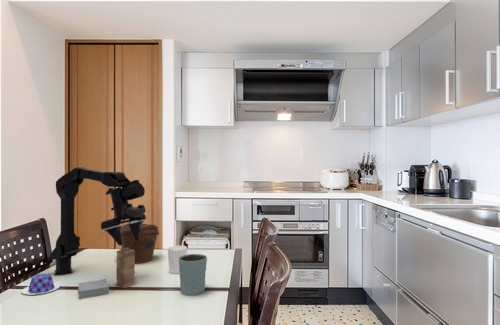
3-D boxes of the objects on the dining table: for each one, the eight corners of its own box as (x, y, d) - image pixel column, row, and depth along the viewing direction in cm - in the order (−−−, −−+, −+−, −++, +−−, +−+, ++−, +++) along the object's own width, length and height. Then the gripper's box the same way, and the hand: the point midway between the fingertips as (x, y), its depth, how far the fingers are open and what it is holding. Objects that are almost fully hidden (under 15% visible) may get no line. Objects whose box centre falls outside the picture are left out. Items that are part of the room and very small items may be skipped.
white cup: (182, 274, 134) (182, 250, 135) (164, 273, 136) (164, 249, 136) (189, 269, 142) (189, 246, 142) (172, 267, 144) (172, 245, 144)
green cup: (182, 298, 110) (182, 262, 111) (175, 288, 119) (175, 255, 120) (210, 293, 115) (211, 258, 115) (201, 283, 124) (201, 252, 124)
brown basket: (128, 253, 166) (128, 218, 166) (165, 255, 164) (165, 219, 164) (108, 264, 149) (108, 225, 149) (149, 266, 146) (150, 226, 146)
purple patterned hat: (31, 299, 110) (31, 283, 110) (14, 292, 116) (15, 277, 116) (67, 288, 120) (67, 274, 120) (50, 282, 126) (50, 268, 126)
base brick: (78, 290, 117) (78, 283, 117) (105, 285, 122) (105, 278, 122) (79, 298, 109) (79, 291, 109) (108, 293, 114) (108, 286, 114)
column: (116, 286, 121) (116, 248, 121) (125, 282, 125) (125, 246, 126) (125, 288, 119) (125, 250, 120) (134, 284, 123) (134, 247, 124)
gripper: (119, 200, 116) (128, 243, 114) (152, 196, 133) (160, 233, 132) (95, 207, 120) (104, 249, 118) (130, 202, 137) (138, 239, 135)
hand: (129, 242), depth 126 cm, fingers open, 9 cm apart
